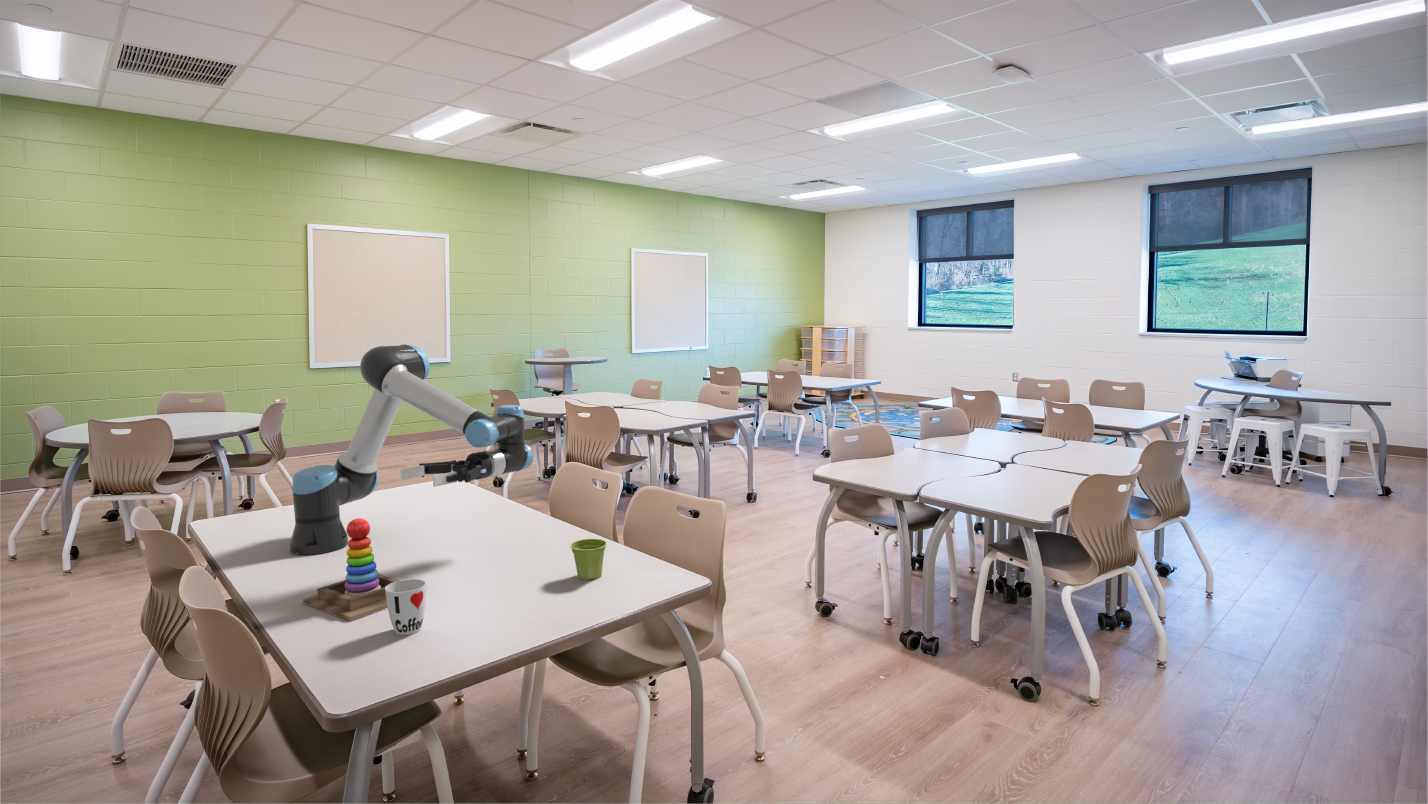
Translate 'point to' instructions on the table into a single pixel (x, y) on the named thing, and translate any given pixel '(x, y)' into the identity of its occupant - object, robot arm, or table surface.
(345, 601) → the walnut jig
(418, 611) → the cup
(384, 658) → the table surface
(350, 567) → the stacking toy
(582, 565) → the plant pot
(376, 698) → the table surface
